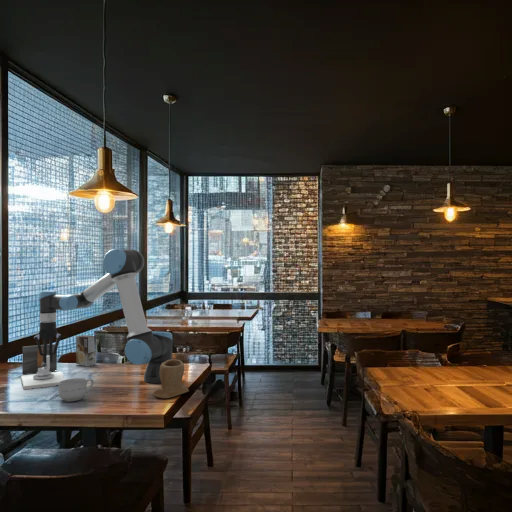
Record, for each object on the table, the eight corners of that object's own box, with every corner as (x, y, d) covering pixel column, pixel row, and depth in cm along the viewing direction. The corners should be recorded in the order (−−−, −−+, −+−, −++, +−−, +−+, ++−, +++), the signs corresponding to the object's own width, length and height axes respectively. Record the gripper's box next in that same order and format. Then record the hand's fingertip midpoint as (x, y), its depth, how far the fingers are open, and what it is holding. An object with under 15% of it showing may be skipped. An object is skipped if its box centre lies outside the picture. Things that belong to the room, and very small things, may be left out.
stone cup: (167, 402, 181) (168, 364, 182) (149, 397, 189) (149, 361, 189) (196, 394, 193) (196, 358, 193) (177, 389, 200) (177, 355, 201)
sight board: (56, 371, 238) (57, 344, 239) (22, 374, 230) (22, 347, 231) (56, 370, 240) (56, 343, 240) (22, 374, 232) (22, 346, 232)
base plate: (67, 384, 210) (67, 380, 211) (23, 389, 202) (23, 385, 202) (60, 373, 232) (60, 370, 232) (21, 378, 223) (21, 374, 223)
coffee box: (96, 364, 256) (96, 335, 256) (88, 366, 250) (88, 337, 250) (83, 363, 259) (83, 334, 260) (75, 365, 253) (75, 336, 254)
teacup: (59, 405, 178) (59, 384, 178) (57, 398, 188) (57, 378, 188) (96, 400, 185) (96, 380, 185) (92, 394, 194) (92, 375, 194)
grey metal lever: (54, 378, 215) (54, 368, 215) (32, 380, 212) (32, 370, 212) (53, 370, 232) (53, 361, 233) (34, 372, 229) (34, 362, 229)
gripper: (34, 323, 221) (33, 372, 220) (63, 321, 227) (62, 368, 226) (33, 321, 227) (32, 369, 226) (61, 320, 234) (61, 366, 233)
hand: (47, 368), depth 226 cm, fingers closed
